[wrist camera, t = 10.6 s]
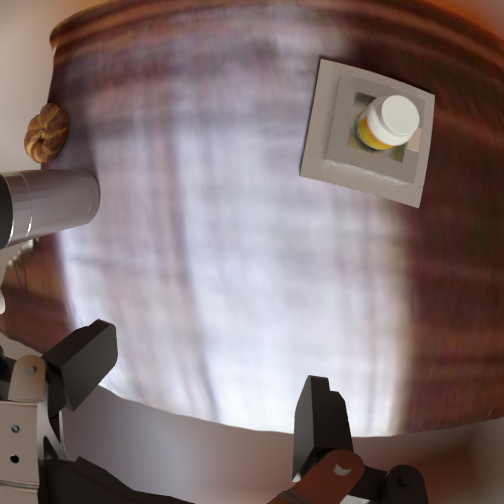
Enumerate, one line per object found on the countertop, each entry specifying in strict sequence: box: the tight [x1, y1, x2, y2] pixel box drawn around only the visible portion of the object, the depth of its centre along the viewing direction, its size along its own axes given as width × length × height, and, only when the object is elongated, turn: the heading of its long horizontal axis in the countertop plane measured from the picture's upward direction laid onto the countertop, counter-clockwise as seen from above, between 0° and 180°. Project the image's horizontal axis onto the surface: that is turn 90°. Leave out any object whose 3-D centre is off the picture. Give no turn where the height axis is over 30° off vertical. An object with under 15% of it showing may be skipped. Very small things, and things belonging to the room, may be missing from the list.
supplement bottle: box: [355, 95, 419, 151], centre depth 26 cm, size 5×5×10 cm
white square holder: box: [300, 59, 435, 208], centre depth 29 cm, size 16×16×4 cm
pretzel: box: [24, 103, 68, 163], centre depth 36 cm, size 12×11×4 cm
